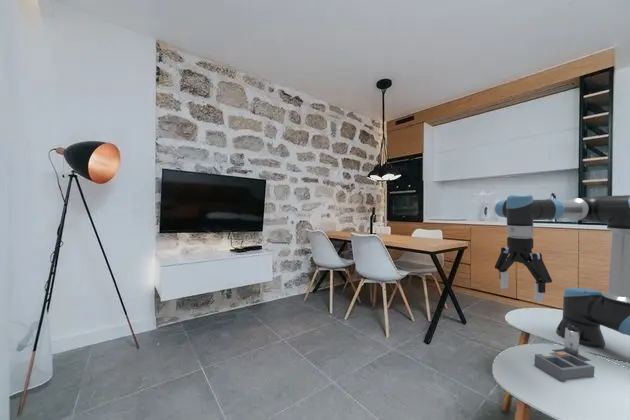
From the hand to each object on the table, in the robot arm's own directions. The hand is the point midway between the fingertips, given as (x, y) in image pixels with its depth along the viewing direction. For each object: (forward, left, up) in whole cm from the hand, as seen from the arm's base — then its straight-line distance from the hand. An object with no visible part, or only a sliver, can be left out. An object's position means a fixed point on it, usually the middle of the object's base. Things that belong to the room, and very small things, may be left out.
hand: (520, 294), depth 93 cm
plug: (-27, -1, -26) cm, 38 cm away
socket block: (-13, +6, -26) cm, 30 cm away
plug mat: (-27, -1, -26) cm, 38 cm away
